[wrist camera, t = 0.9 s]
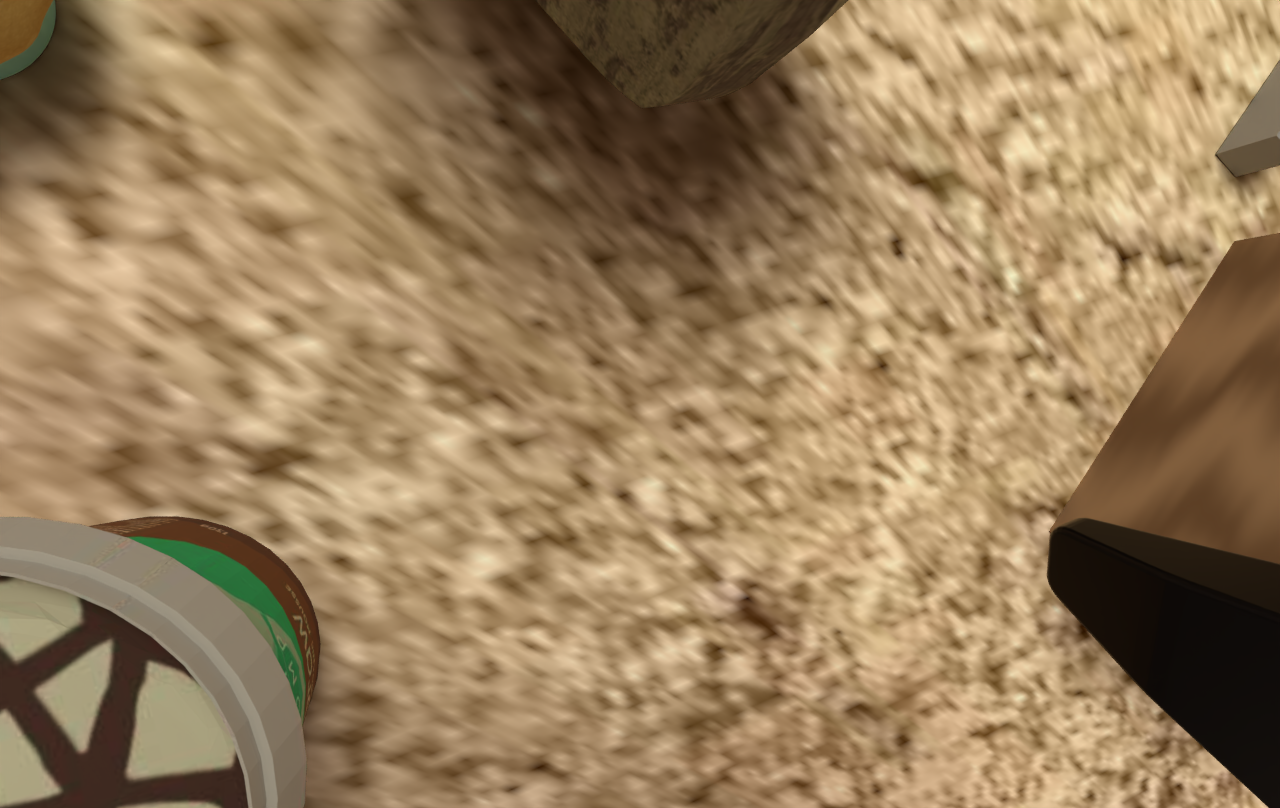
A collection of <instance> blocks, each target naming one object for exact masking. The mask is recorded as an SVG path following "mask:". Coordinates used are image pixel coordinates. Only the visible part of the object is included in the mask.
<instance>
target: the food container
mask: <svg viewBox="0 0 1280 808" xmlns="http://www.w3.org/2000/svg"><path fill="white" fill-rule="evenodd" d="M319 652H320V638H319V630H318V622H317V619H316V616H315V613H314V610H313V606H312V603H311V601H310V599H309V597H308V595H307V593H306V591H305V589H304V588H303V586H302V584H301V582H300V581H299V580H298V578H297V577H296V576H295V575H294V573H293V572H292V571H291V569H290V568H289V567H288V566H287V565H286V564H285V563H284V562H283V561H282V560H281V559H280V558H279V557H278V556H276V555H275V554H274V553H273V552H272V551H271V550H270V549H268V548H267V547H265V546H264V545H262V544H260V543H259V542H257V541H256V540H254V539H253V538H251V537H249V536H247V535H245V534H243V533H240V532H238V531H236V530H234V529H231V528H229V527H226V526H223V525H219V524H216V523H212V522H209V521H205V520H199V519H192V518H185V517H144V518H137V519H129V520H122V521H116V522H111V523H105V524H99V525H93V526H85V525H81V524H75V523H67V522H60V521H53V520H46V519H38V518H31V517H0V808H304V805H305V793H306V769H307V758H306V750H305V743H304V736H303V728H302V725H303V722H304V719H305V716H306V712H307V709H308V706H309V703H310V699H311V696H312V693H313V690H314V686H315V683H316V680H317V674H318V663H319Z"/></svg>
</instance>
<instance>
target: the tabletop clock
mask: <svg viewBox="0 0 1280 808" xmlns="http://www.w3.org/2000/svg"><path fill="white" fill-rule="evenodd" d="M847 1H848V0H536V2H537V3H538V4H539V5H540V6H541V7H542V8H543V9H544V11H545V12H546V13H547V14H548V15H549V16H550V17H551V18H552V20H553V21H554V22H555V23H556V24H557V25H558V26H559V27H560V29H561V30H562V31H563V32H564V33H565V34H566V35H567V36H568V38H569V39H570V40H571V41H572V42H573V43H574V44H575V45H576V47H577V48H578V49H579V50H580V51H581V52H582V53H583V54H584V55H585V57H586V58H587V59H588V60H589V61H590V62H591V63H592V64H593V65H594V66H595V67H596V69H597V70H598V71H599V72H600V73H601V74H602V75H603V76H604V77H605V78H606V79H607V80H608V81H609V82H610V83H612V84H613V85H614V86H615V87H616V88H617V89H618V90H619V91H620V92H622V93H623V94H624V95H625V96H626V97H628V98H629V99H630V100H631V101H633V102H634V103H635V104H636V105H638V106H639V107H640V108H649V107H660V106H666V105H673V104H679V103H686V102H692V101H699V100H706V99H712V98H719V97H722V96H725V95H727V94H729V93H732V92H734V91H736V90H738V89H740V88H742V87H744V86H746V85H748V84H750V83H751V82H753V81H754V80H755V79H756V78H758V77H759V76H760V75H762V74H763V73H764V72H765V71H767V70H768V69H769V68H770V67H772V66H773V65H774V64H775V63H777V62H778V61H779V60H780V59H782V58H783V57H784V56H785V55H787V54H788V53H789V52H790V51H792V50H793V49H794V48H795V47H797V46H798V45H799V44H800V43H802V42H803V41H804V40H805V39H807V38H808V37H809V36H810V35H811V34H813V33H814V32H815V31H816V30H817V29H818V28H819V27H820V26H821V25H822V24H823V23H824V22H825V21H827V20H828V19H829V18H830V17H831V16H832V15H833V14H834V13H835V12H836V11H837V10H838V9H839V8H840V7H842V6H843V5H844V4H845V3H846V2H847Z"/></svg>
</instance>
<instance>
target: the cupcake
mask: <svg viewBox="0 0 1280 808" xmlns="http://www.w3.org/2000/svg"><path fill="white" fill-rule="evenodd" d="M55 19H56V5H55V0H0V79H3V78H6V77H9V76H12V75H14V74H16V73H18V72H20V71H22V70H23V69H25V68H26V67H28V66H29V65H31V64H32V63H33V62H34V61H35V60H36V59H37V58H38V57H39V56H40V55H41V54H42V52H43V51H44V49H45V48H46V46H47V45H48V43H49V41H50V39H51V36H52V33H53V30H54V26H55Z"/></svg>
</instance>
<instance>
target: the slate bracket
mask: <svg viewBox="0 0 1280 808" xmlns="http://www.w3.org/2000/svg"><path fill="white" fill-rule="evenodd" d="M1216 155H1217V156H1218V157H1219V158H1220V160H1221V161H1222V162H1223V163H1224V164H1225V165H1226V166H1227V167H1228V169H1229V170H1230V171H1231V172H1232V173H1233V174H1234V175H1235V177H1237V176H1241V175H1245V174H1249V173H1252V172H1256V171H1260V170H1264V169H1267V168H1271V167H1275V166H1279V165H1280V61H1279V62H1278V64H1277V65H1276V67H1275V68H1274V70H1273V71H1272V73H1271V74H1270V75H1269V77H1268V78H1267V80H1266V81H1265V83H1264V84H1263V86H1262V87H1261V89H1260V90H1259V92H1258V93H1257V94H1256V96H1255V97H1254V99H1253V100H1252V102H1251V103H1250V105H1249V106H1248V108H1247V109H1246V111H1245V112H1244V113H1243V115H1242V116H1241V118H1240V119H1239V121H1238V122H1237V124H1236V125H1235V127H1234V128H1233V130H1232V131H1231V133H1230V134H1229V135H1228V137H1227V138H1226V140H1225V141H1224V143H1223V144H1222V146H1221V147H1220V149H1219V150H1218V152H1217V153H1216Z"/></svg>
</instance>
